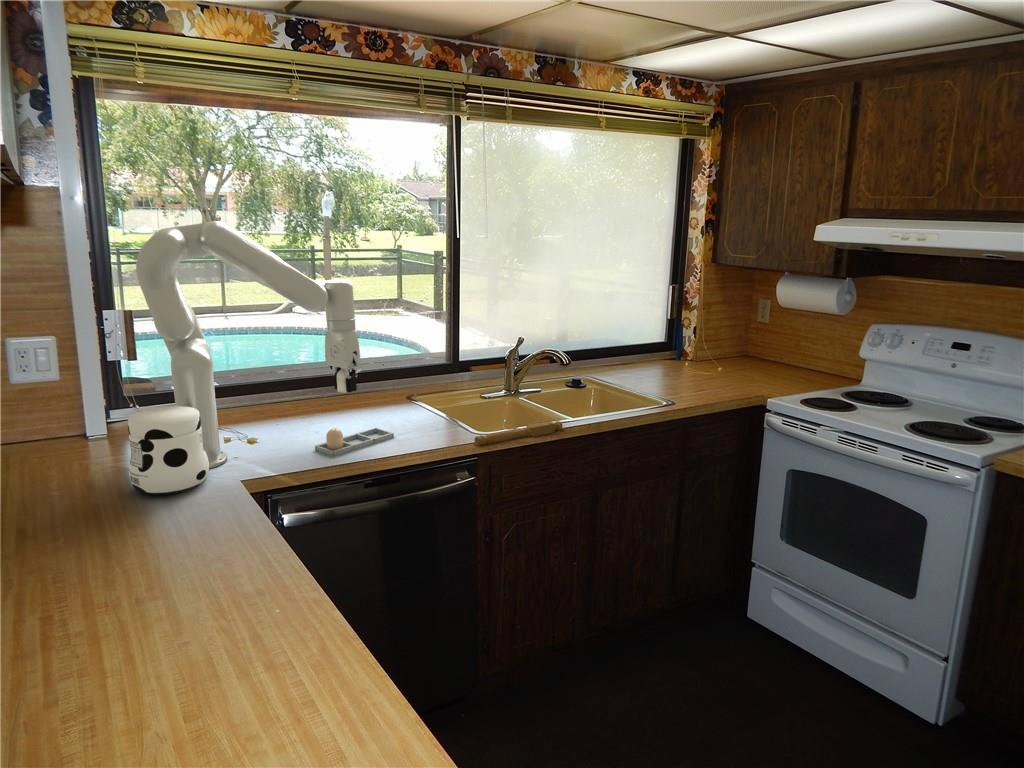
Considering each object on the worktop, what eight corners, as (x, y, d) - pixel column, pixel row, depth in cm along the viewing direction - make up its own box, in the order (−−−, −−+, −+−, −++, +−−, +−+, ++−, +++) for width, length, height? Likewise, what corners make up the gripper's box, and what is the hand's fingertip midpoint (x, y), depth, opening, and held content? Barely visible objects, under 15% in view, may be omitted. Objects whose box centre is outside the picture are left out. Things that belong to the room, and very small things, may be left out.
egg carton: (332, 461, 191) (331, 453, 191) (311, 454, 197) (311, 446, 196) (397, 440, 209) (397, 432, 208) (376, 434, 214) (376, 426, 214)
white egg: (344, 393, 198) (342, 371, 197) (334, 390, 201) (332, 369, 199) (357, 390, 201) (355, 368, 200) (346, 387, 204) (345, 366, 203)
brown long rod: (473, 434, 206) (558, 419, 222) (473, 445, 207) (558, 428, 223) (479, 437, 204) (564, 421, 220) (479, 448, 205) (564, 431, 221)
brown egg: (333, 454, 194) (332, 432, 193) (323, 450, 197) (322, 428, 195) (346, 450, 197) (345, 428, 196) (336, 446, 200) (335, 425, 199)
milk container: (221, 473, 182) (214, 404, 178) (194, 501, 166) (186, 426, 161) (151, 473, 182) (143, 404, 177) (117, 501, 165) (107, 426, 161)
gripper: (310, 323, 199) (315, 388, 203) (350, 330, 188) (354, 397, 193) (333, 320, 204) (337, 382, 209) (372, 326, 194) (376, 392, 199)
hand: (345, 389), depth 201 cm, fingers closed on white egg, 4 cm apart
